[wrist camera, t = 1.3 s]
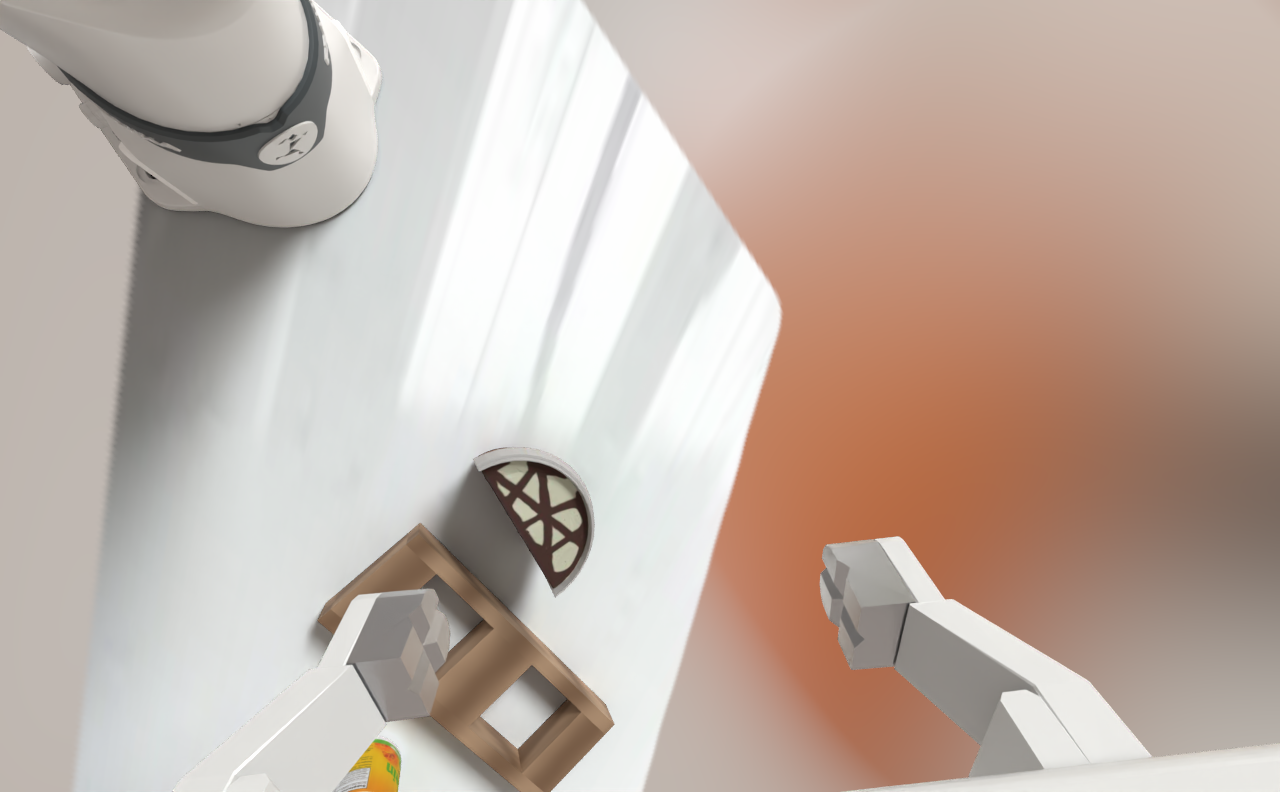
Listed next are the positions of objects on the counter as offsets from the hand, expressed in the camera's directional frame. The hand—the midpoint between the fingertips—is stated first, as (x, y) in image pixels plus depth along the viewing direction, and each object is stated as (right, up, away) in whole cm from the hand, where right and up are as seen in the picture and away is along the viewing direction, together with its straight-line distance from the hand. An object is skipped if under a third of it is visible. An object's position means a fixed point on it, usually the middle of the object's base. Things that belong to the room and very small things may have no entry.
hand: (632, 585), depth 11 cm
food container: (-10, -4, +37) cm, 39 cm away
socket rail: (-14, -20, +37) cm, 44 cm away
